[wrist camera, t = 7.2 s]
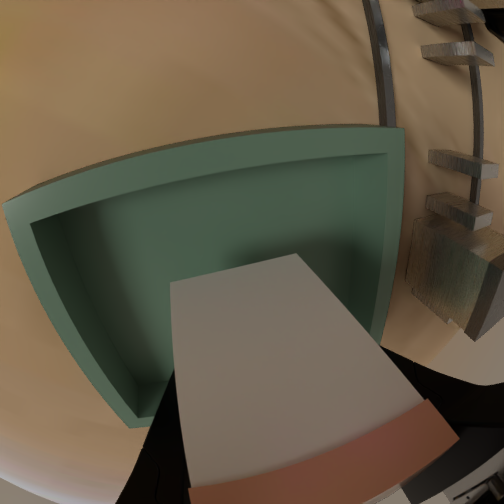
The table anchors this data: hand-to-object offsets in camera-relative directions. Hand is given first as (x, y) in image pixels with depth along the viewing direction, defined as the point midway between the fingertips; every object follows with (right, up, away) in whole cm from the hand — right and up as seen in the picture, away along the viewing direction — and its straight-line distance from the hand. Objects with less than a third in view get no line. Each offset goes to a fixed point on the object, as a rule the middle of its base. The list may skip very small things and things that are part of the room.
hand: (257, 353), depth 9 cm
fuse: (0, +1, +2) cm, 2 cm away
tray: (-1, +2, +4) cm, 5 cm away
